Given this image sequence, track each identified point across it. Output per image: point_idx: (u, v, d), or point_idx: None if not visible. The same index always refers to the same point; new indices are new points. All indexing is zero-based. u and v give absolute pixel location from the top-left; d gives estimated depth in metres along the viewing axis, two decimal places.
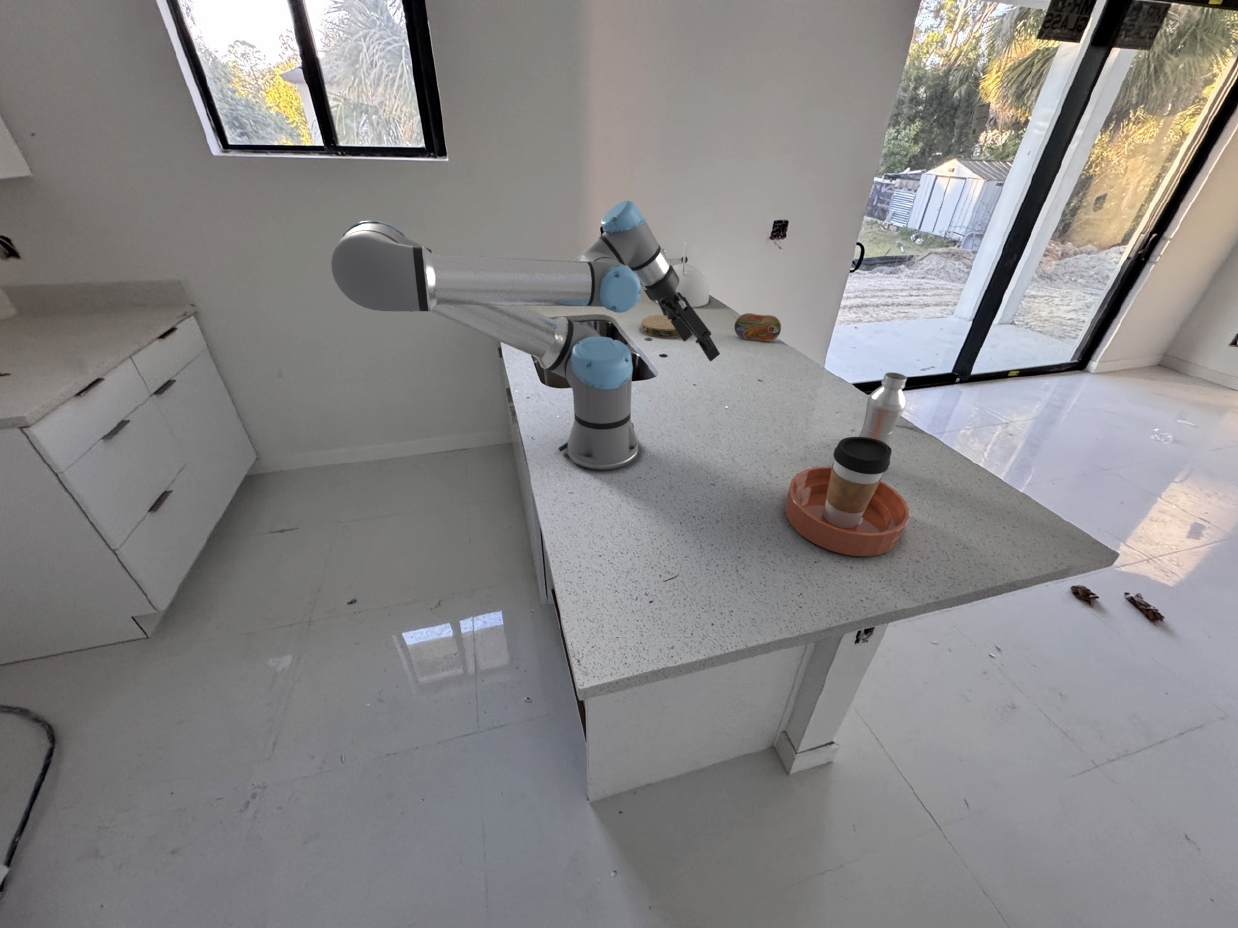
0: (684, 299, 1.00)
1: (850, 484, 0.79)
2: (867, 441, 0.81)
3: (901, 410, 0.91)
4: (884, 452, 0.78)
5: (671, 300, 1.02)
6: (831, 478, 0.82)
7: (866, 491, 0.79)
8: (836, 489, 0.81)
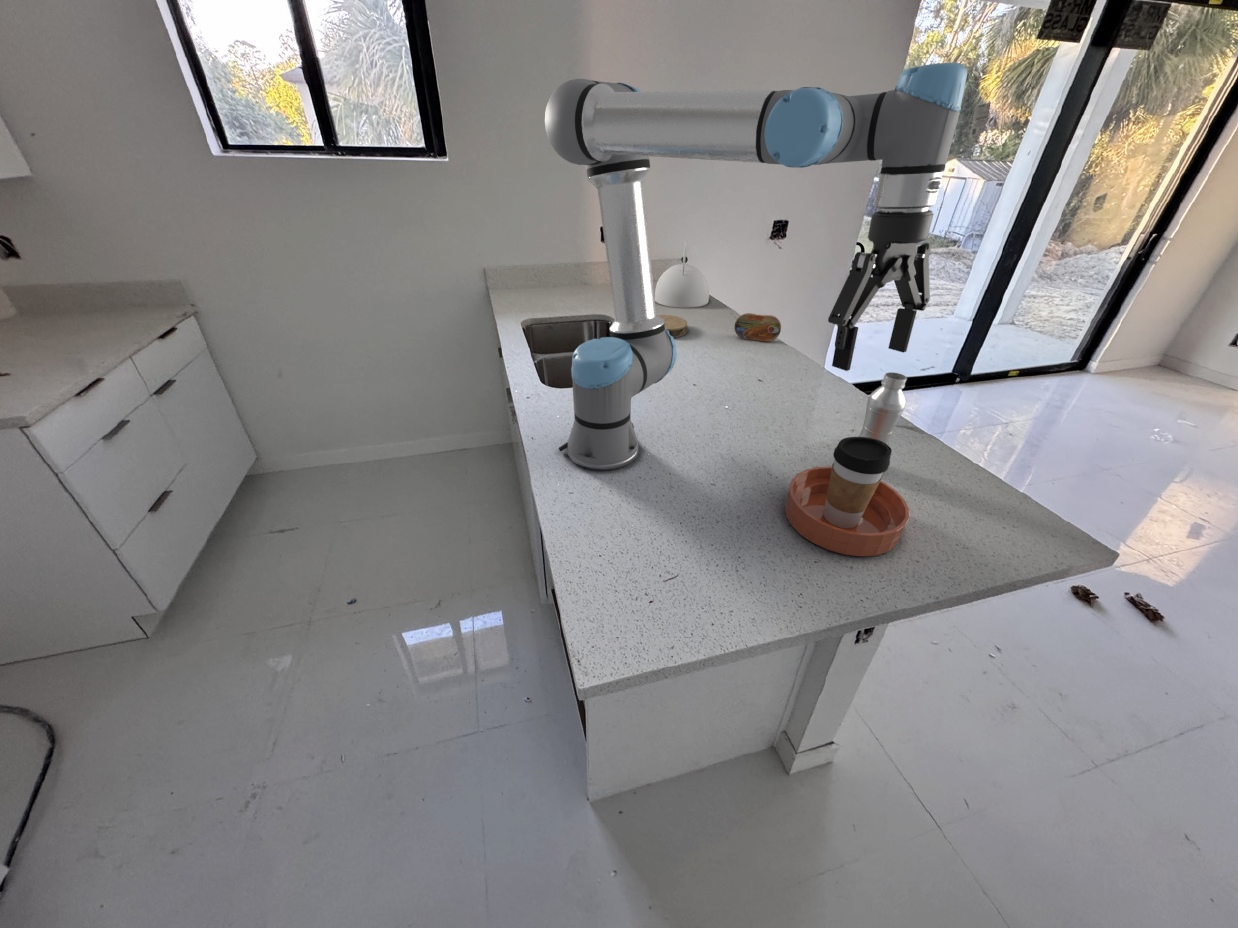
0: (868, 256, 0.66)
1: (850, 484, 0.79)
2: (867, 441, 0.81)
3: (901, 410, 0.91)
4: (884, 452, 0.78)
5: (872, 251, 0.68)
6: (831, 478, 0.82)
7: (866, 491, 0.79)
8: (836, 489, 0.81)
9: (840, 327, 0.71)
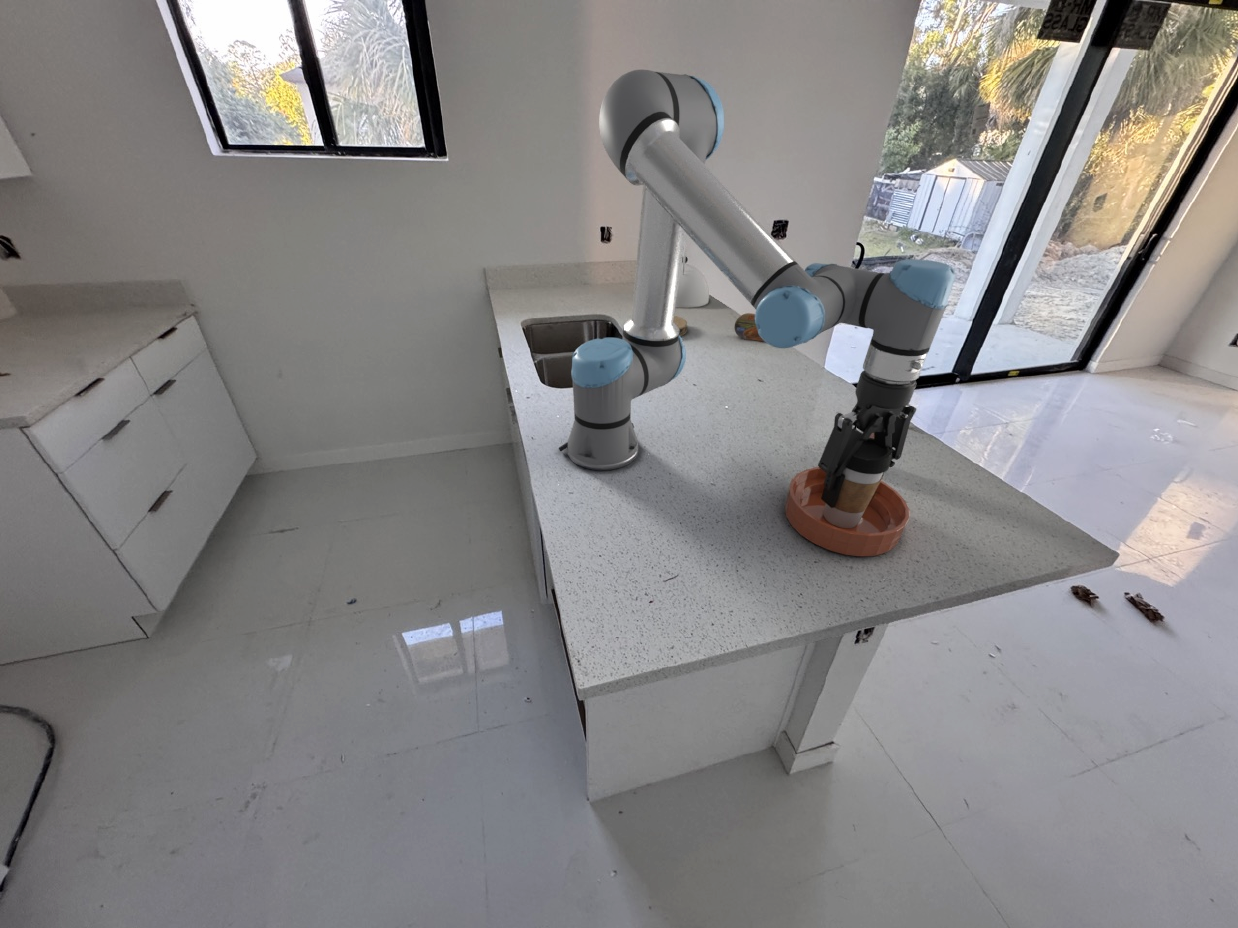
0: (845, 422, 0.72)
1: (851, 484, 0.78)
2: (867, 441, 0.81)
3: None
4: (885, 452, 0.78)
5: (853, 408, 0.74)
6: None
7: (866, 491, 0.79)
8: None
9: None
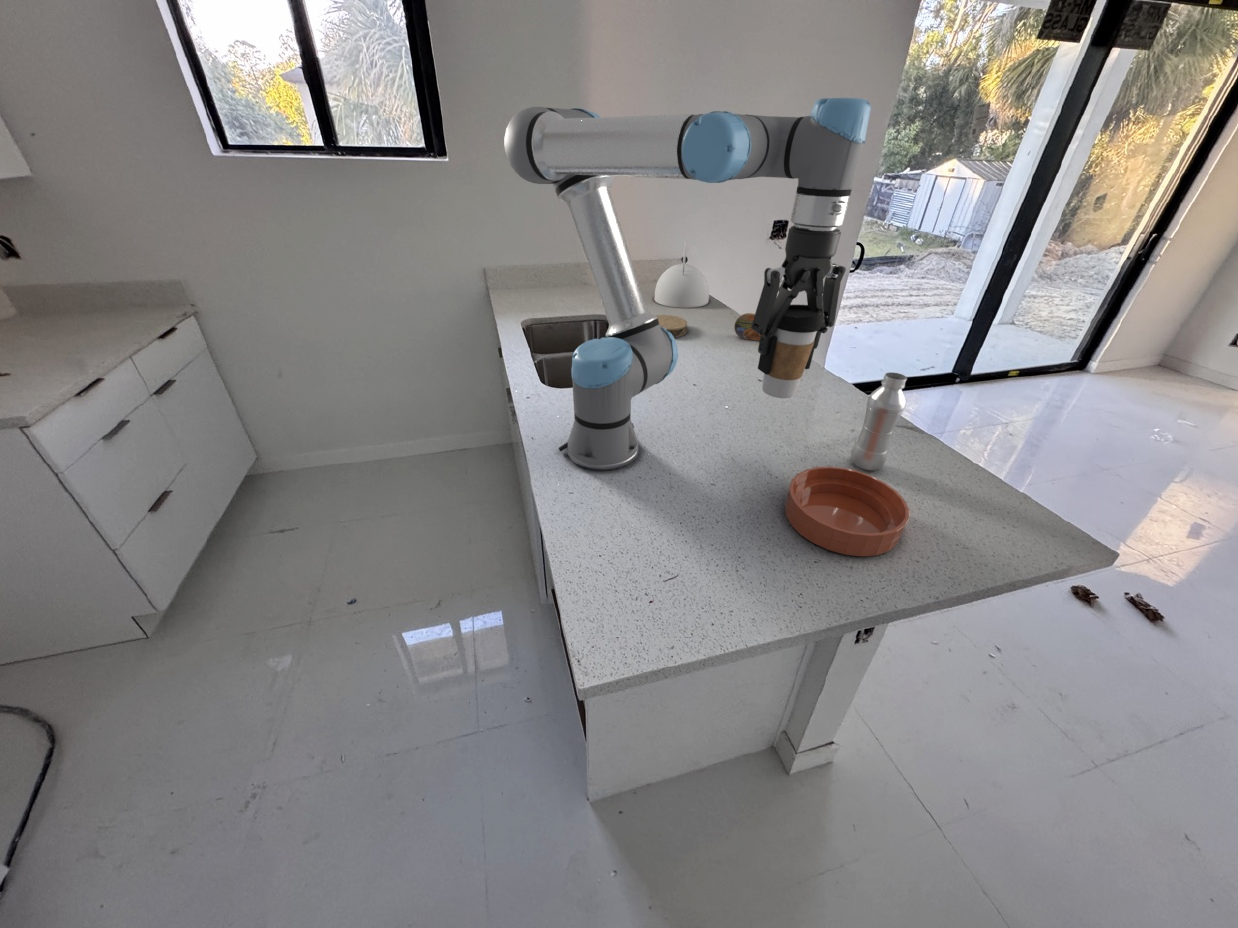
0: (772, 274, 0.74)
1: (783, 346, 0.80)
2: (802, 308, 0.83)
3: (901, 410, 0.91)
4: None
5: None
6: None
7: (798, 353, 0.81)
8: None
9: (762, 335, 0.81)
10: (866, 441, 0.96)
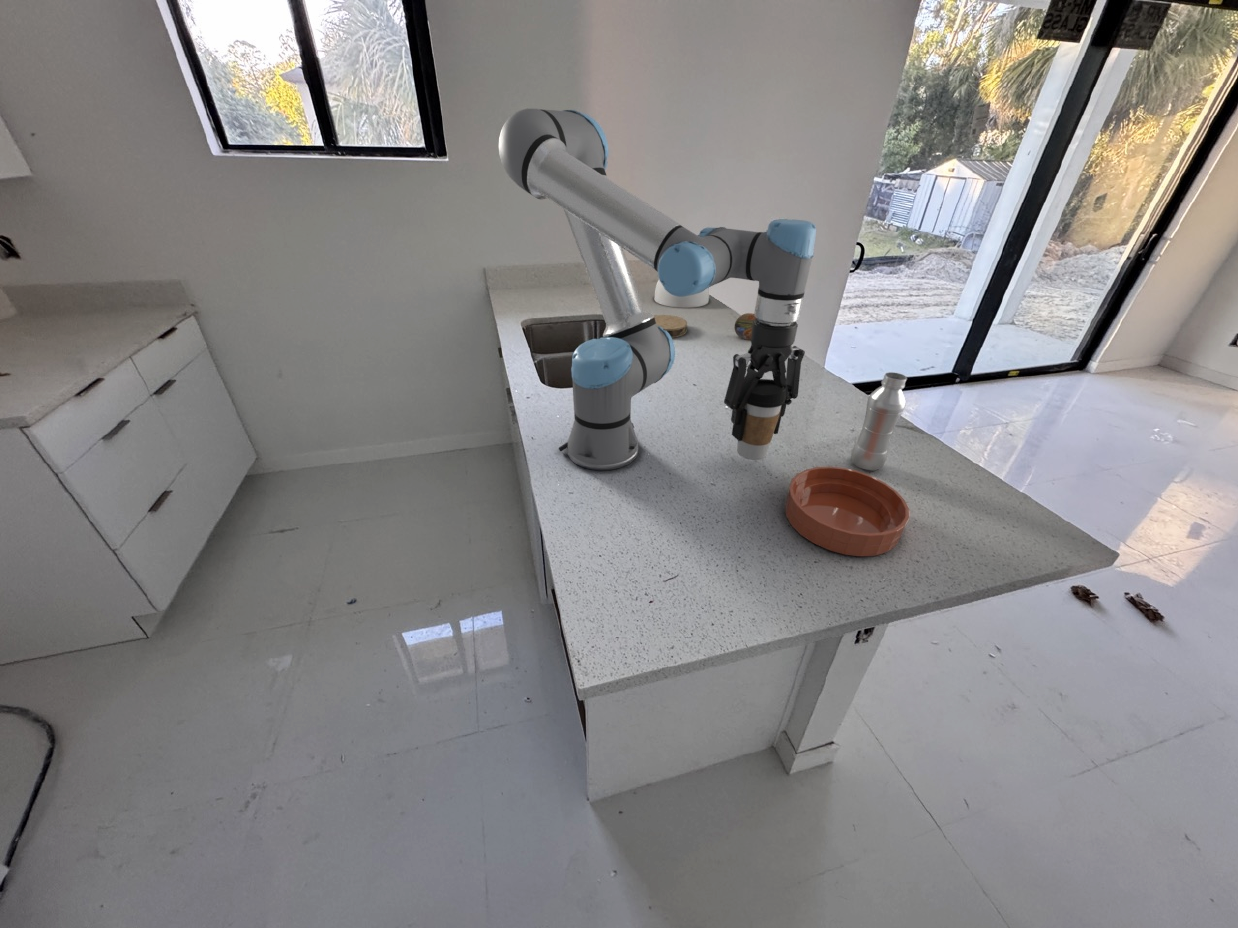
0: (739, 361, 0.85)
1: (752, 418, 0.91)
2: (769, 382, 0.94)
3: (901, 410, 0.91)
4: (780, 390, 0.91)
5: None
6: None
7: (766, 424, 0.91)
8: None
9: (733, 408, 0.92)
10: (866, 441, 0.96)
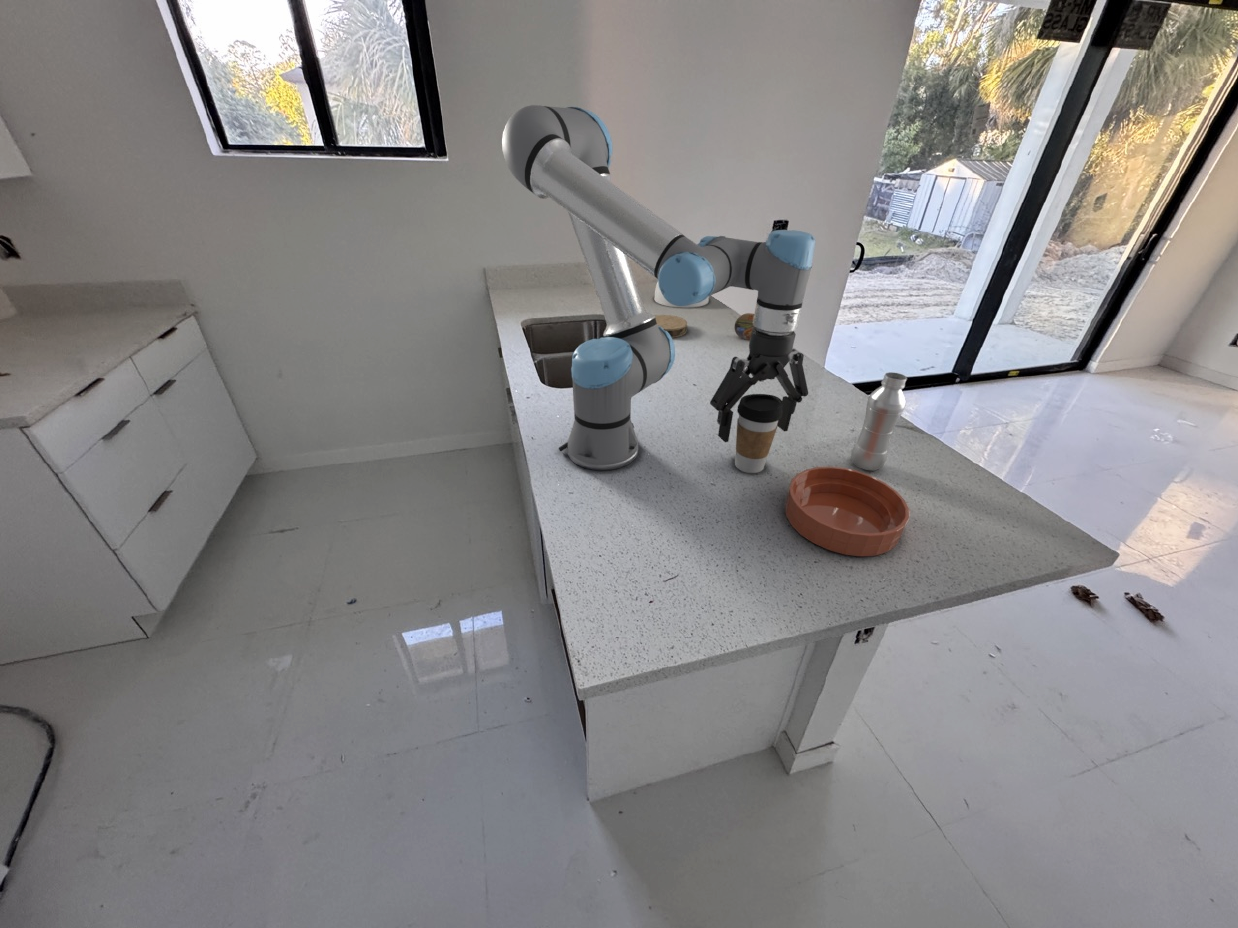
0: (738, 362, 0.85)
1: (750, 432, 0.93)
2: (766, 397, 0.95)
3: (901, 410, 0.91)
4: None
5: (748, 356, 0.87)
6: (737, 429, 0.97)
7: (763, 438, 0.93)
8: (740, 438, 0.96)
9: (719, 409, 0.91)
10: (866, 441, 0.96)
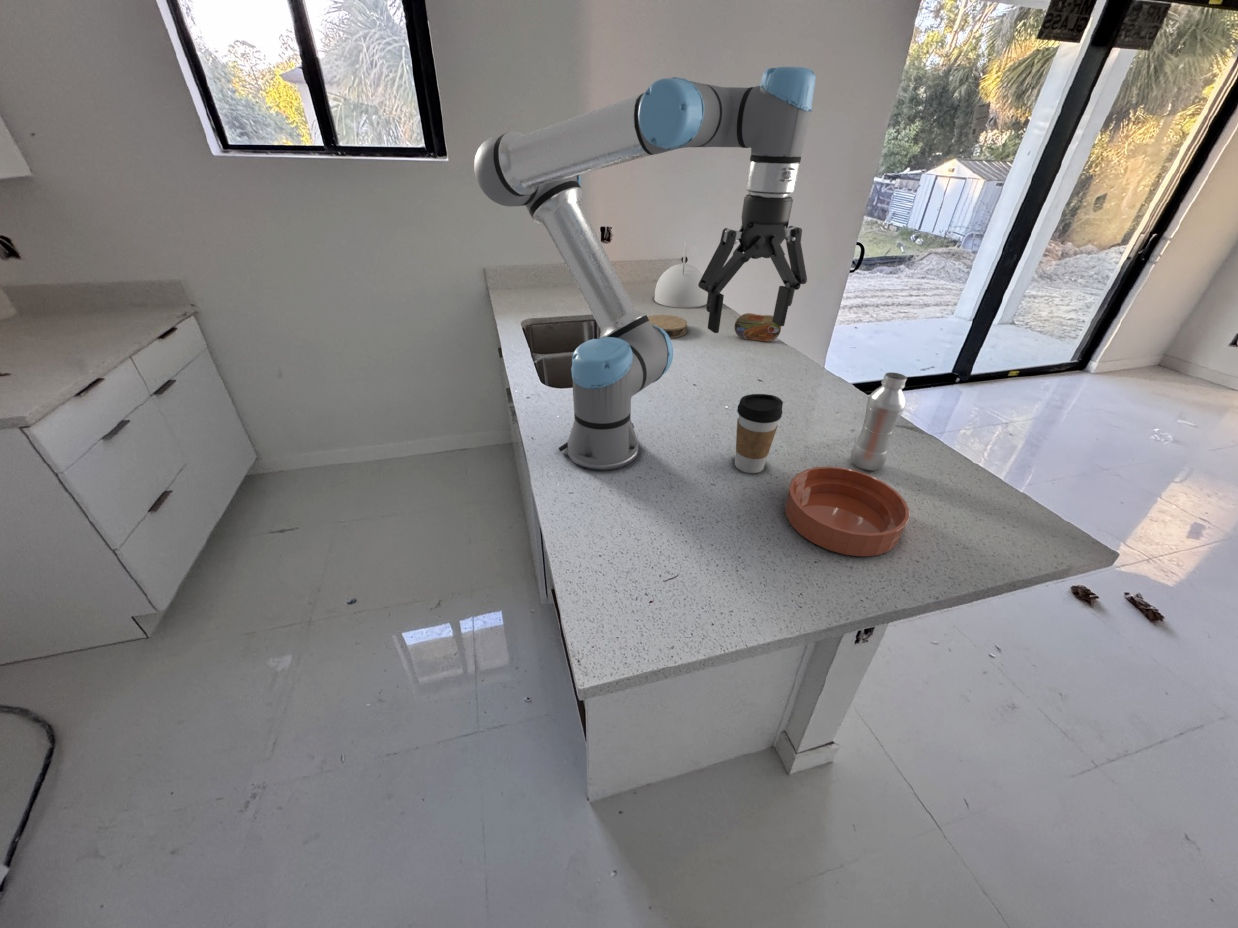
0: (729, 232, 0.77)
1: (750, 432, 0.93)
2: (766, 397, 0.95)
3: (901, 410, 0.91)
4: None
5: (740, 228, 0.79)
6: (737, 429, 0.97)
7: (763, 438, 0.93)
8: (740, 438, 0.96)
9: (709, 293, 0.82)
10: (866, 441, 0.96)
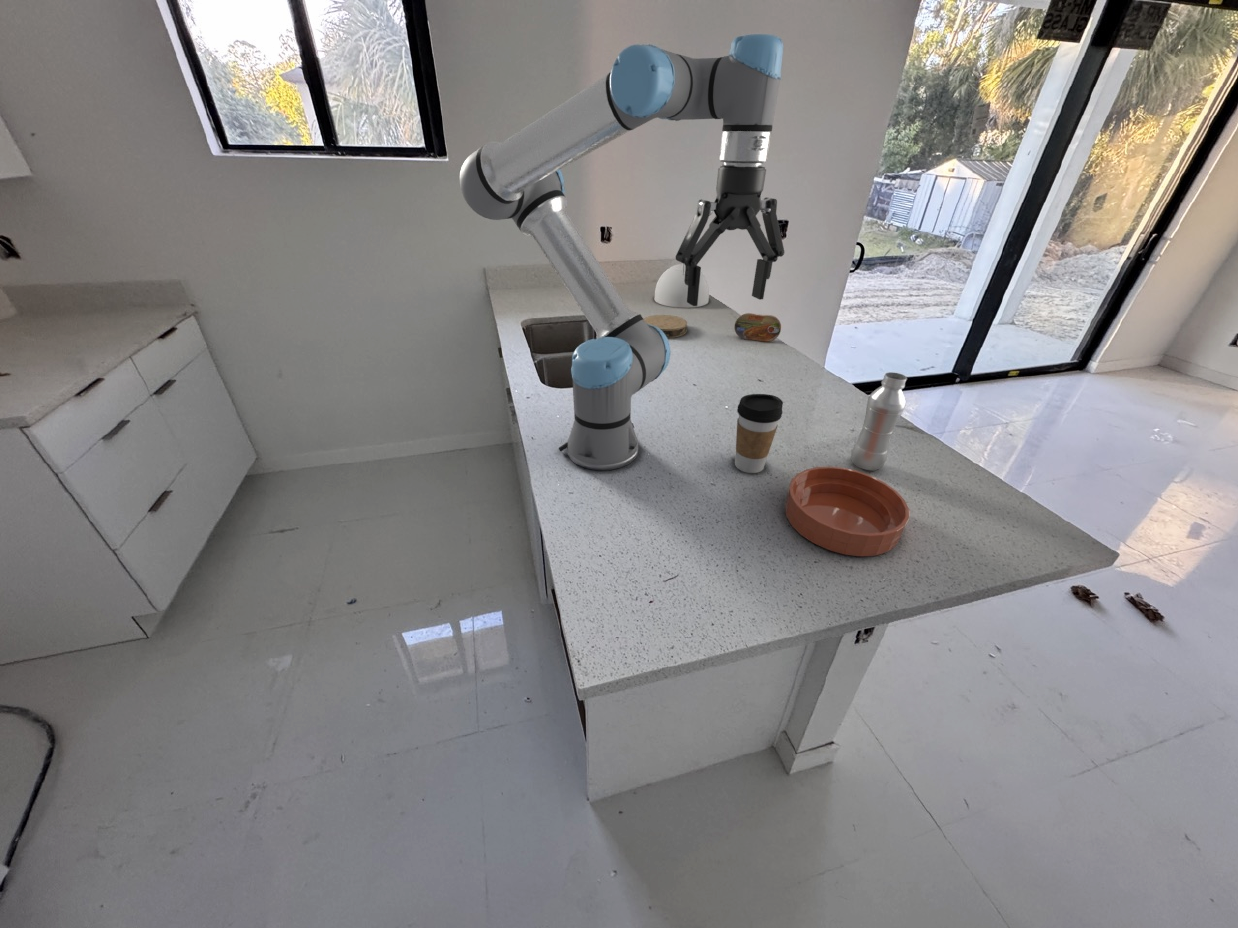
0: (704, 203, 0.77)
1: (750, 432, 0.93)
2: (766, 397, 0.95)
3: (901, 410, 0.91)
4: None
5: (715, 200, 0.79)
6: (737, 429, 0.97)
7: (763, 438, 0.93)
8: (740, 438, 0.96)
9: (686, 265, 0.83)
10: (866, 441, 0.96)
